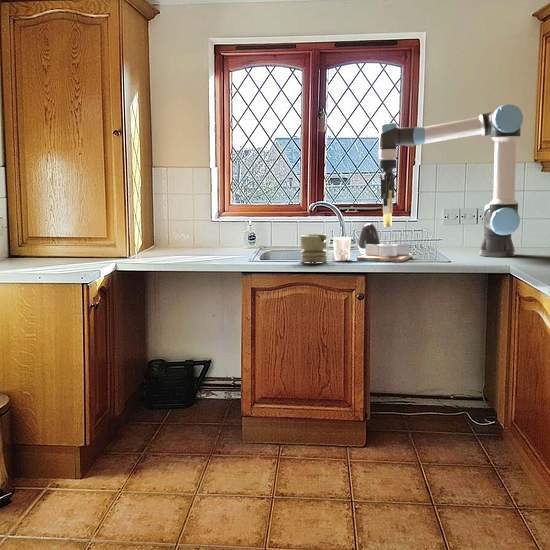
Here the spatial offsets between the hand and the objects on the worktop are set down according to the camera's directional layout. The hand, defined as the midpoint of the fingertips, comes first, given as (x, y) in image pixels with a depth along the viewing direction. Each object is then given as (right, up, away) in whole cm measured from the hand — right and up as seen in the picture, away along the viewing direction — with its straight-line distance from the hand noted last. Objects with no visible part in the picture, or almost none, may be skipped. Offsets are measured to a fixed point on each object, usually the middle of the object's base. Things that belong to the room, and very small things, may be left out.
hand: (387, 213), depth 282 cm
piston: (-33, -22, +1) cm, 39 cm away
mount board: (0, -20, +5) cm, 21 cm away
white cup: (-19, -21, +6) cm, 29 cm away
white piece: (0, -19, +5) cm, 19 cm away
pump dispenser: (-5, -18, +22) cm, 29 cm away
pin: (0, -6, +1) cm, 6 cm away
